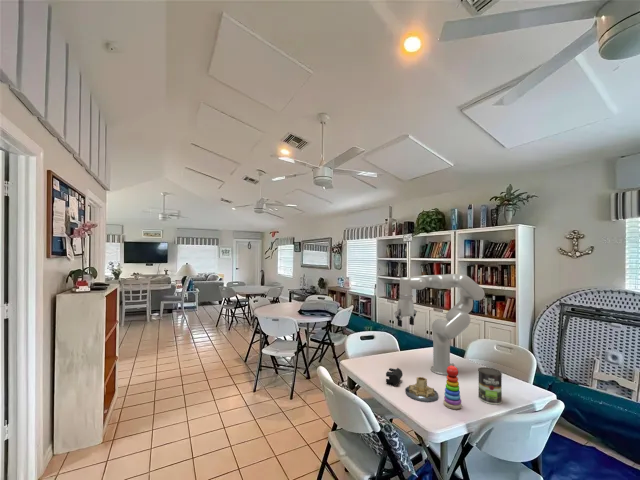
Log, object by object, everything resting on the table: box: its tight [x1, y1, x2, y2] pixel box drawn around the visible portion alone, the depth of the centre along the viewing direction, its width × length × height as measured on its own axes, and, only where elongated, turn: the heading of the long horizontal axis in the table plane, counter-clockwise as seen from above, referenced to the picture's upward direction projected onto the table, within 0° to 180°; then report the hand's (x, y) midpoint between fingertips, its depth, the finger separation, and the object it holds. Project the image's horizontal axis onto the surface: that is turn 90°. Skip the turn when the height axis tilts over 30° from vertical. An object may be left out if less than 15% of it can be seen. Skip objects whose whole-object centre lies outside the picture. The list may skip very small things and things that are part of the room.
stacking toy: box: [443, 365, 463, 410], centre depth 142 cm, size 8×8×19 cm
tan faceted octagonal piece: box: [408, 376, 435, 398], centre depth 153 cm, size 12×12×6 cm
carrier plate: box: [404, 385, 439, 403], centre depth 153 cm, size 16×16×4 cm
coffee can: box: [477, 366, 503, 406], centre depth 149 cm, size 10×10×14 cm
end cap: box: [385, 367, 404, 387], centre depth 166 cm, size 10×7×7 cm
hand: (405, 325), depth 182 cm, fingers open, 9 cm apart
